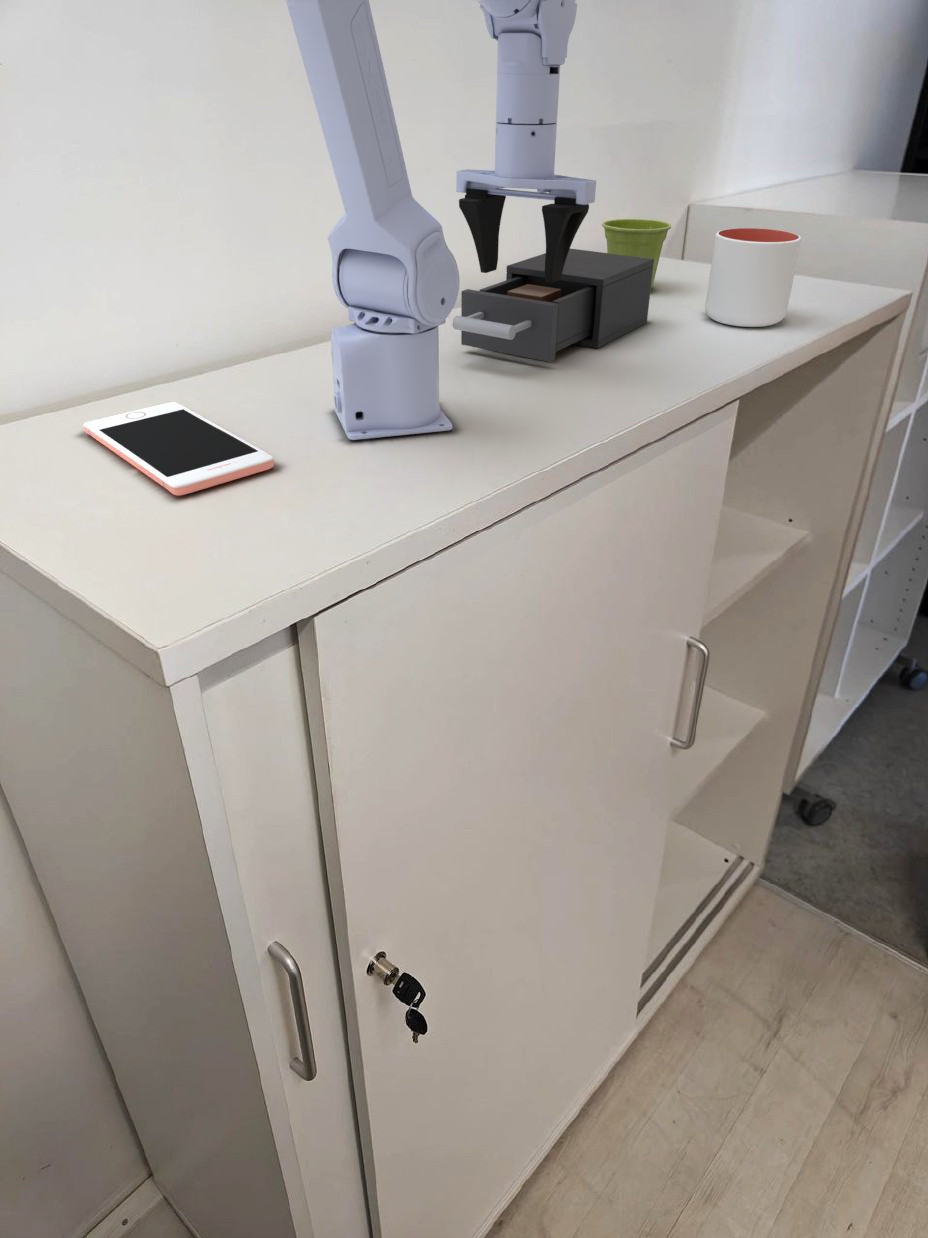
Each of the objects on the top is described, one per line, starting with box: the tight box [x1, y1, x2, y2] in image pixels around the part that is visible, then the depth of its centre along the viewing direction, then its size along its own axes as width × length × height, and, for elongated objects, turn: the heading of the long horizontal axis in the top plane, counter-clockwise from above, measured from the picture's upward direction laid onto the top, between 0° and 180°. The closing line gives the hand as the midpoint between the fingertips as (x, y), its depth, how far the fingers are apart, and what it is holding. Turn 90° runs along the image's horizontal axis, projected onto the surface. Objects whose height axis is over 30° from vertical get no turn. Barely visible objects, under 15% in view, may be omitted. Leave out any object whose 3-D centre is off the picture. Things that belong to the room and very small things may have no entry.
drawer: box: [452, 275, 597, 362], centre depth 98 cm, size 17×11×6 cm, turn 146°
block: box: [507, 284, 561, 303], centre depth 99 cm, size 4×4×4 cm
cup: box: [704, 227, 802, 328], centre depth 110 cm, size 10×10×10 cm
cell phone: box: [83, 401, 275, 496], centre depth 75 cm, size 9×18×1 cm, turn 41°
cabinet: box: [505, 248, 654, 350], centre depth 107 cm, size 14×13×8 cm
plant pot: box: [601, 218, 672, 290], centre depth 124 cm, size 9×9×9 cm
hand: (520, 275), depth 90 cm, fingers open, 7 cm apart
